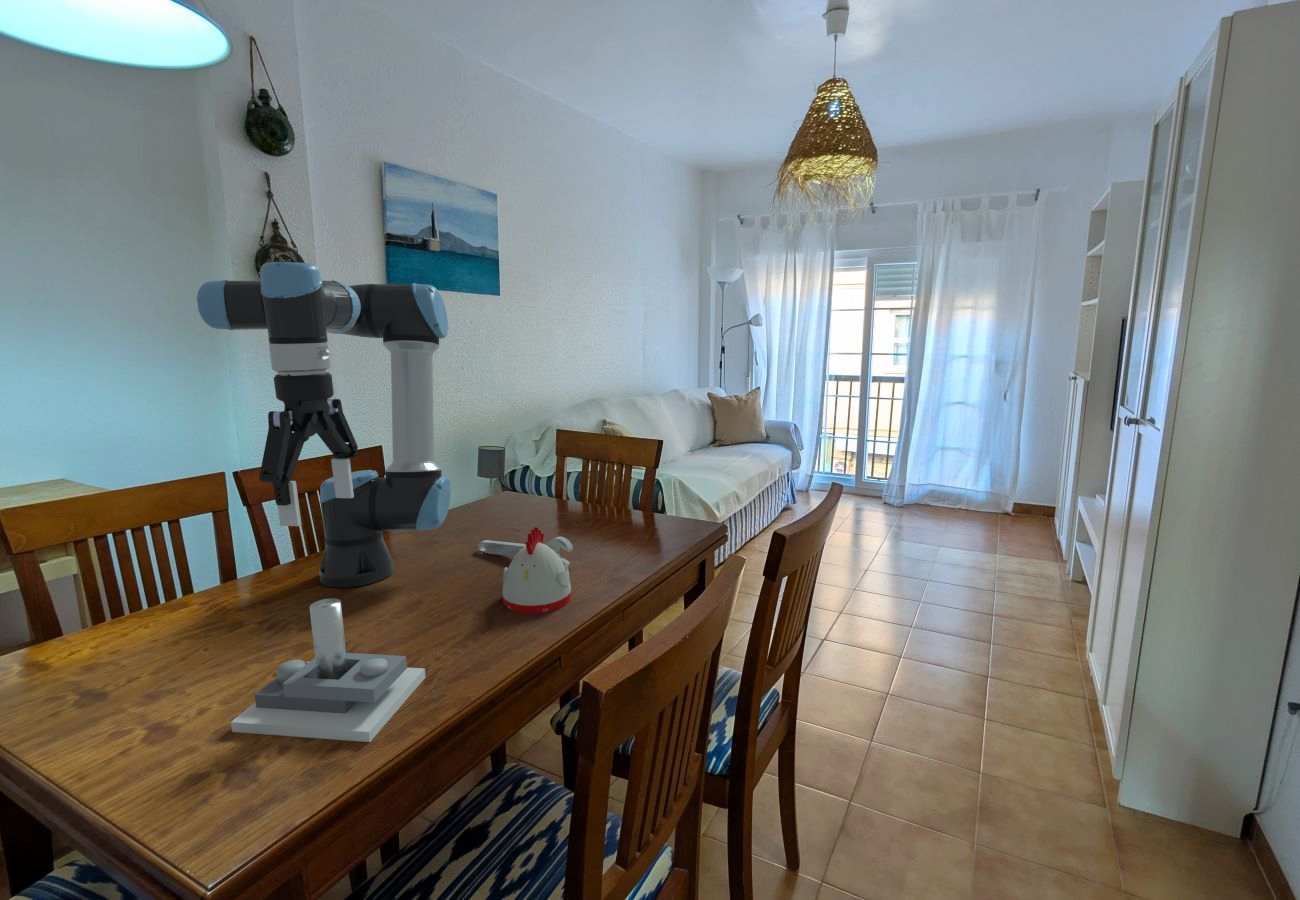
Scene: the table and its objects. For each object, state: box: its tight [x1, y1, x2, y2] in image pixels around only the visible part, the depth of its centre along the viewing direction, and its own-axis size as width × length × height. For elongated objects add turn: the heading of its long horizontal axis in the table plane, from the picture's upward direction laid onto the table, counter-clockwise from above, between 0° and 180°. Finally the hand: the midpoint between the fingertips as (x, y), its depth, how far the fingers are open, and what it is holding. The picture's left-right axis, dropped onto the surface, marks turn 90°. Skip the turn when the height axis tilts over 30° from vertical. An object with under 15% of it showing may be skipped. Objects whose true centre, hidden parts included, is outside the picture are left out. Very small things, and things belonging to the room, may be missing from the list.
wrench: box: [477, 536, 574, 567], centre depth 148 cm, size 8×2×30 cm
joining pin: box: [309, 597, 348, 680], centre depth 91 cm, size 4×4×14 cm
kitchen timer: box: [502, 526, 572, 614], centre depth 127 cm, size 14×14×15 cm
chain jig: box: [230, 652, 426, 743], centre depth 92 cm, size 20×16×6 cm
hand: (319, 510), depth 96 cm, fingers open, 13 cm apart
